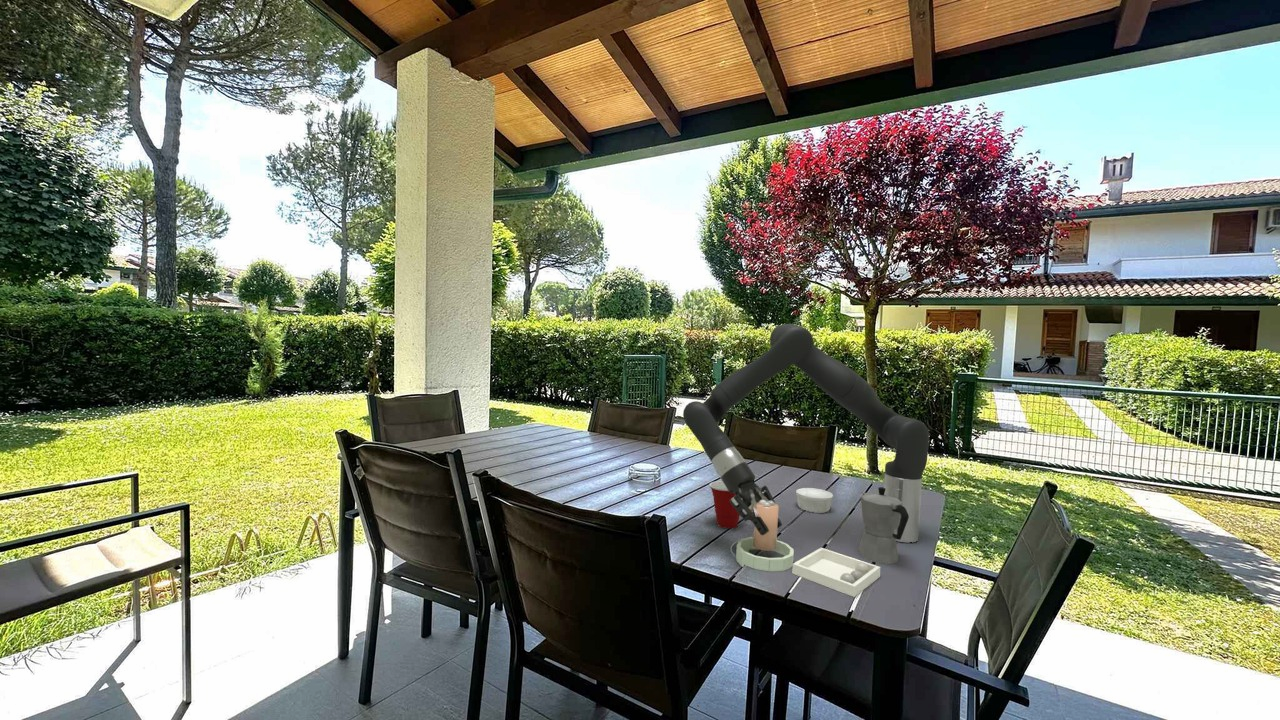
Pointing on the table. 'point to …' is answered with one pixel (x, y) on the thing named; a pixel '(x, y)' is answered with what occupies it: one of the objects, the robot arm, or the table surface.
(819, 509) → the ramekin
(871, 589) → the table surface
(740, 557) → the sage bowl
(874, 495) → the coffeepot
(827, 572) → the parts tray
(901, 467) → the robot arm
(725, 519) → the plastic cup
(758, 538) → the pebble pot
